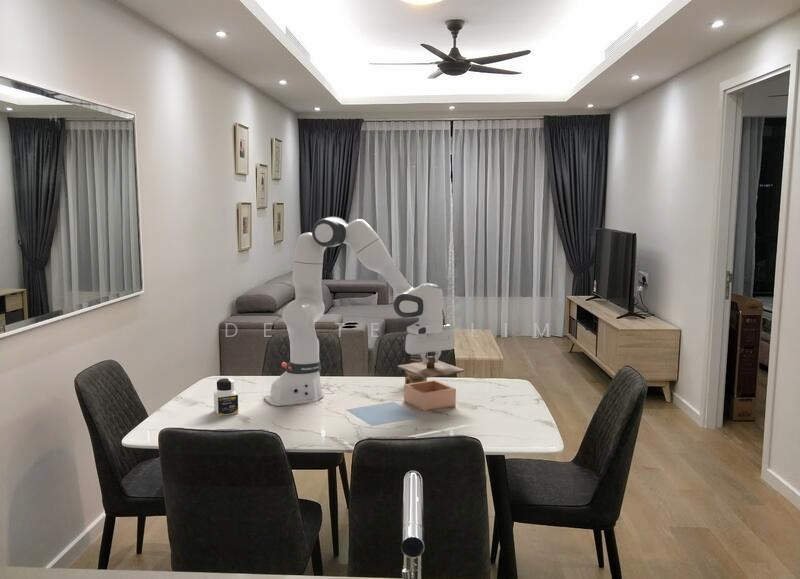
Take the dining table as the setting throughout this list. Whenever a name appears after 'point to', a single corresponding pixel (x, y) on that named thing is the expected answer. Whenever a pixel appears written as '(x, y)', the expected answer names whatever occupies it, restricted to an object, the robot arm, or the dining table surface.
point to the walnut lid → (430, 368)
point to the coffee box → (409, 376)
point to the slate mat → (383, 413)
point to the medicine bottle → (225, 397)
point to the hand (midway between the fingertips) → (430, 363)
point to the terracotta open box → (430, 395)
